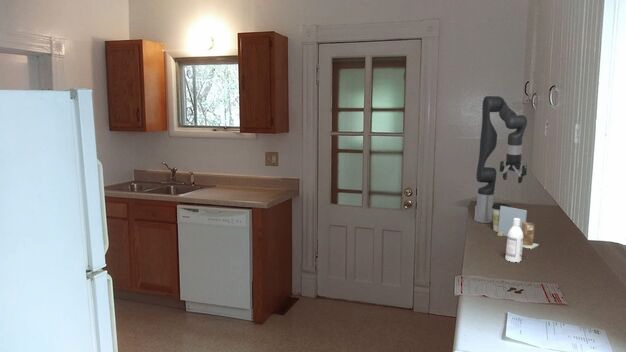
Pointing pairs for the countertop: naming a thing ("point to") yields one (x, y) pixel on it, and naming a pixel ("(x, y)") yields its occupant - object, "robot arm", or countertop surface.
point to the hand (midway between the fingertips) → (512, 181)
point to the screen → (509, 219)
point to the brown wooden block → (528, 233)
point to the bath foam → (514, 242)
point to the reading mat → (530, 246)
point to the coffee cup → (497, 215)
